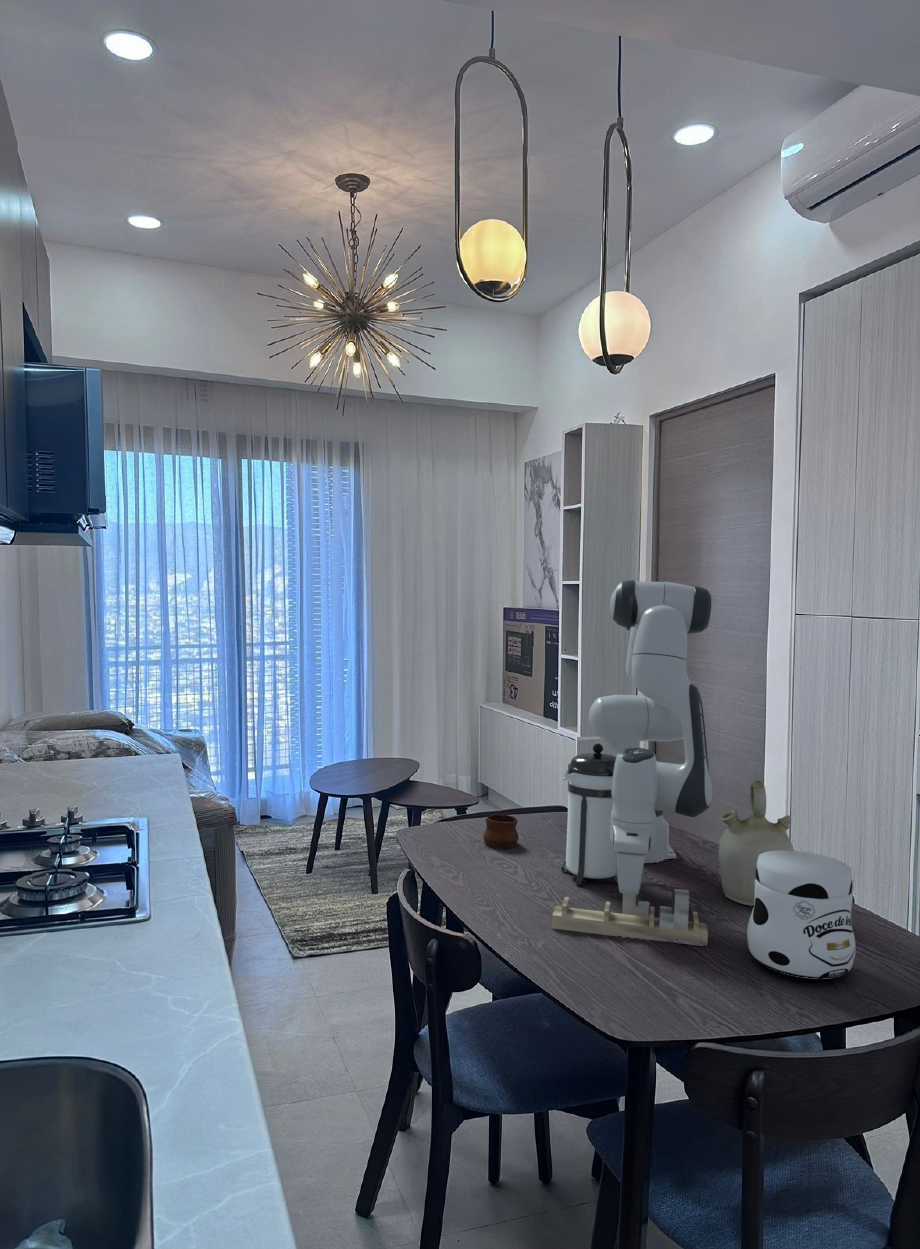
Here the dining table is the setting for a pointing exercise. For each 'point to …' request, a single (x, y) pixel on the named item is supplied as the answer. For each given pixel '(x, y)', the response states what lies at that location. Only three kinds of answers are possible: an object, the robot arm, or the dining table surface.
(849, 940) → the milk container
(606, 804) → the coffee press
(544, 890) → the dining table surface
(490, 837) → the ceramic pot
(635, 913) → the grey block
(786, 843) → the jug
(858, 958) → the dining table surface
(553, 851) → the dining table surface
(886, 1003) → the dining table surface
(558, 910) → the rail
